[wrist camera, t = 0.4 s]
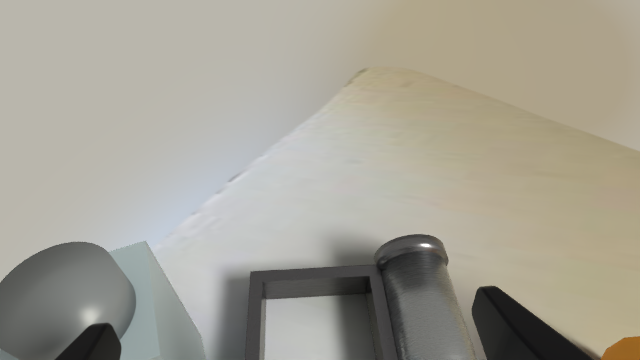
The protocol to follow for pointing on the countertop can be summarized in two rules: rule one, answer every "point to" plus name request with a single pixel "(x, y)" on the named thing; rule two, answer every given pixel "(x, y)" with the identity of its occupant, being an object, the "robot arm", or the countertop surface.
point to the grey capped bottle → (94, 304)
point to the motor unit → (379, 300)
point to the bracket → (624, 350)
